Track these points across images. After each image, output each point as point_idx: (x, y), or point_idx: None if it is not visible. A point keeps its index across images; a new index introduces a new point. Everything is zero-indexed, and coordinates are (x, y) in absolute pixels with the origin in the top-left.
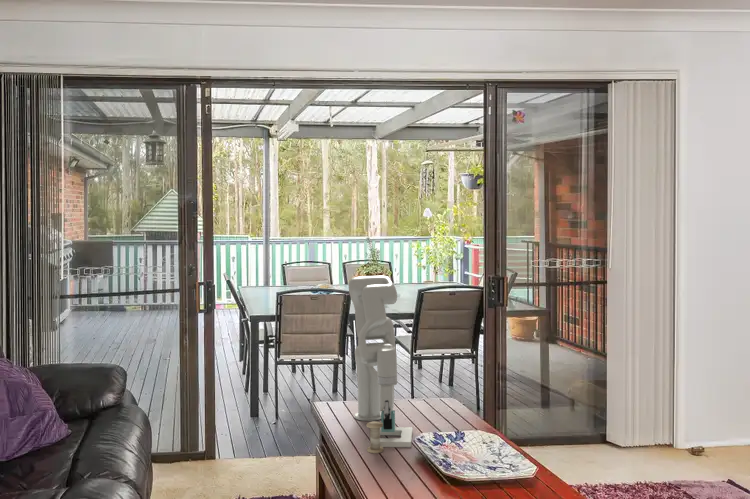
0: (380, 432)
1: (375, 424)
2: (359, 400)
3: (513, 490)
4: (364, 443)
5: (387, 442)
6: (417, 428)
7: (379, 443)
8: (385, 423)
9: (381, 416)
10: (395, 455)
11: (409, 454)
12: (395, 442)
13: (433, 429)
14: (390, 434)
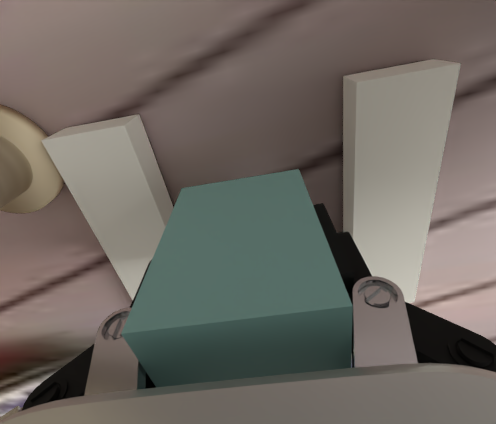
0: (350, 116)
1: None
2: None
3: None
4: (122, 20)
5: (96, 230)
6: (478, 284)
7: None
8: (140, 283)
9: (137, 301)
10: (19, 269)
11: (70, 313)
12: (118, 269)
13: None
14: (344, 184)
